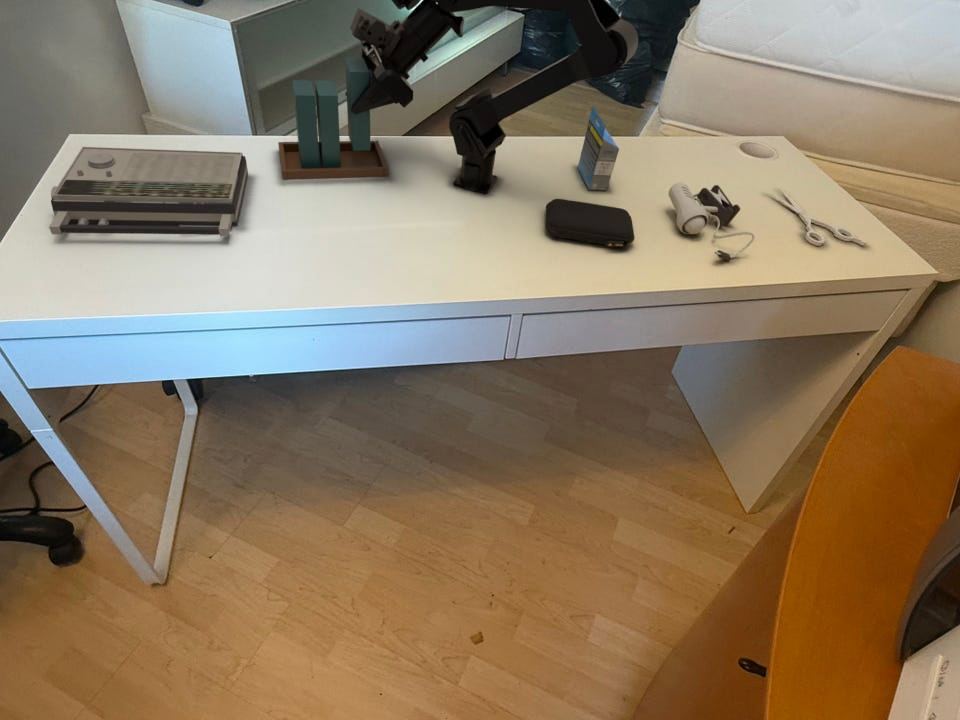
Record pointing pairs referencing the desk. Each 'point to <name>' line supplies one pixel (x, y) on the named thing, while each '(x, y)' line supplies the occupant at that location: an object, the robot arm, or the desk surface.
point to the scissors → (809, 219)
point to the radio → (150, 192)
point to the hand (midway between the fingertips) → (349, 104)
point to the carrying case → (589, 222)
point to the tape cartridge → (597, 154)
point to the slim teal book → (354, 85)
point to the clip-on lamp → (704, 212)
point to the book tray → (351, 167)
